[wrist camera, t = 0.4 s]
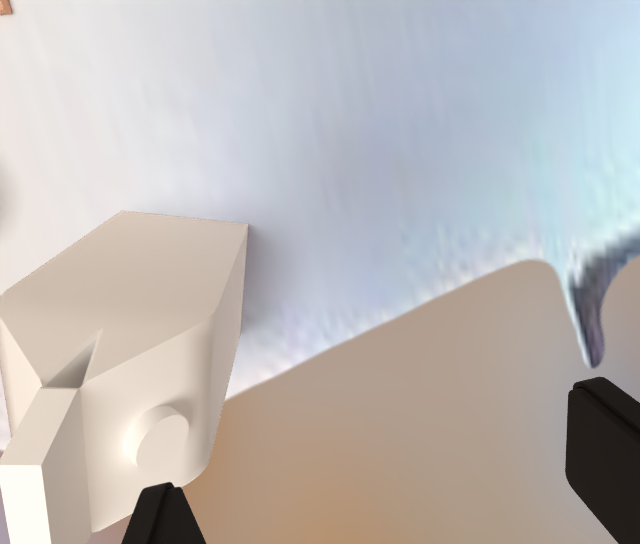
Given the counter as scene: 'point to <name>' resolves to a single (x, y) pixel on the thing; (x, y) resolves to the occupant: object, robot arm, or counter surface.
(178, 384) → the milk
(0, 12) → the strips
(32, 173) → the counter surface
